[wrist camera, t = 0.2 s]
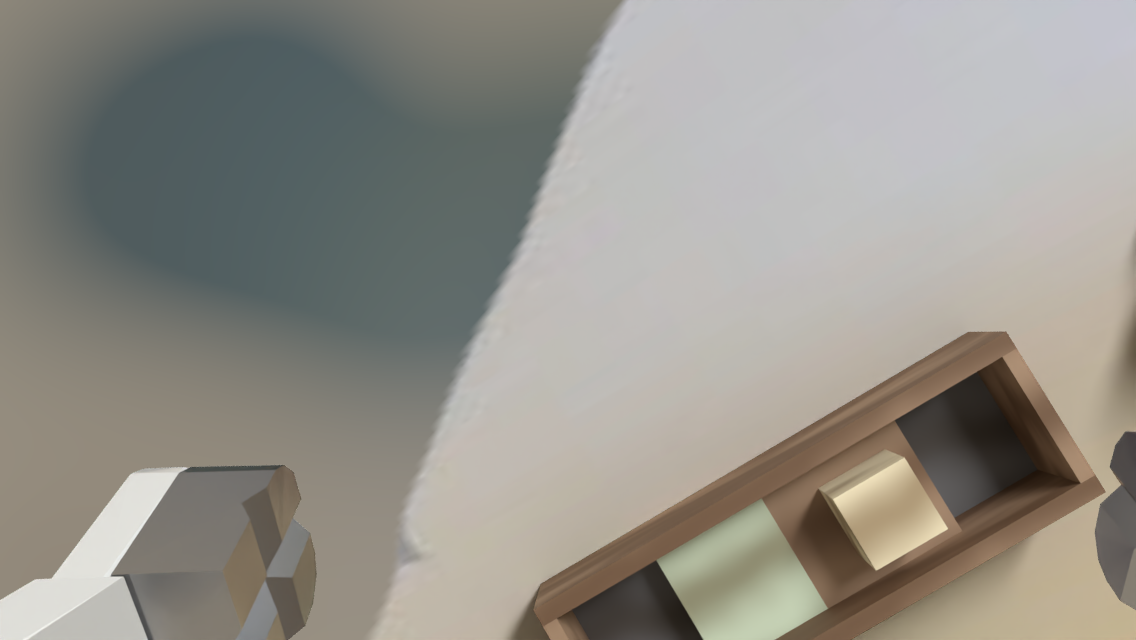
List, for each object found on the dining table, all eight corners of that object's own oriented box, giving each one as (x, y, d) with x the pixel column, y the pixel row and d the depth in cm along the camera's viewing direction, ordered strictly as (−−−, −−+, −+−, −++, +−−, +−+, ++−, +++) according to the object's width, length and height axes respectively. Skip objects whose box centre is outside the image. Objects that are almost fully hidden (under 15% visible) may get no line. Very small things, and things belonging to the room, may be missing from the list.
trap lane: (1057, 476, 61) (1105, 492, 55) (625, 727, 63) (626, 769, 57) (968, 332, 62) (1006, 331, 56) (540, 583, 63) (533, 610, 57)
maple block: (925, 515, 59) (948, 528, 55) (858, 554, 59) (876, 570, 55) (884, 449, 59) (904, 457, 55) (818, 488, 59) (832, 499, 55)
